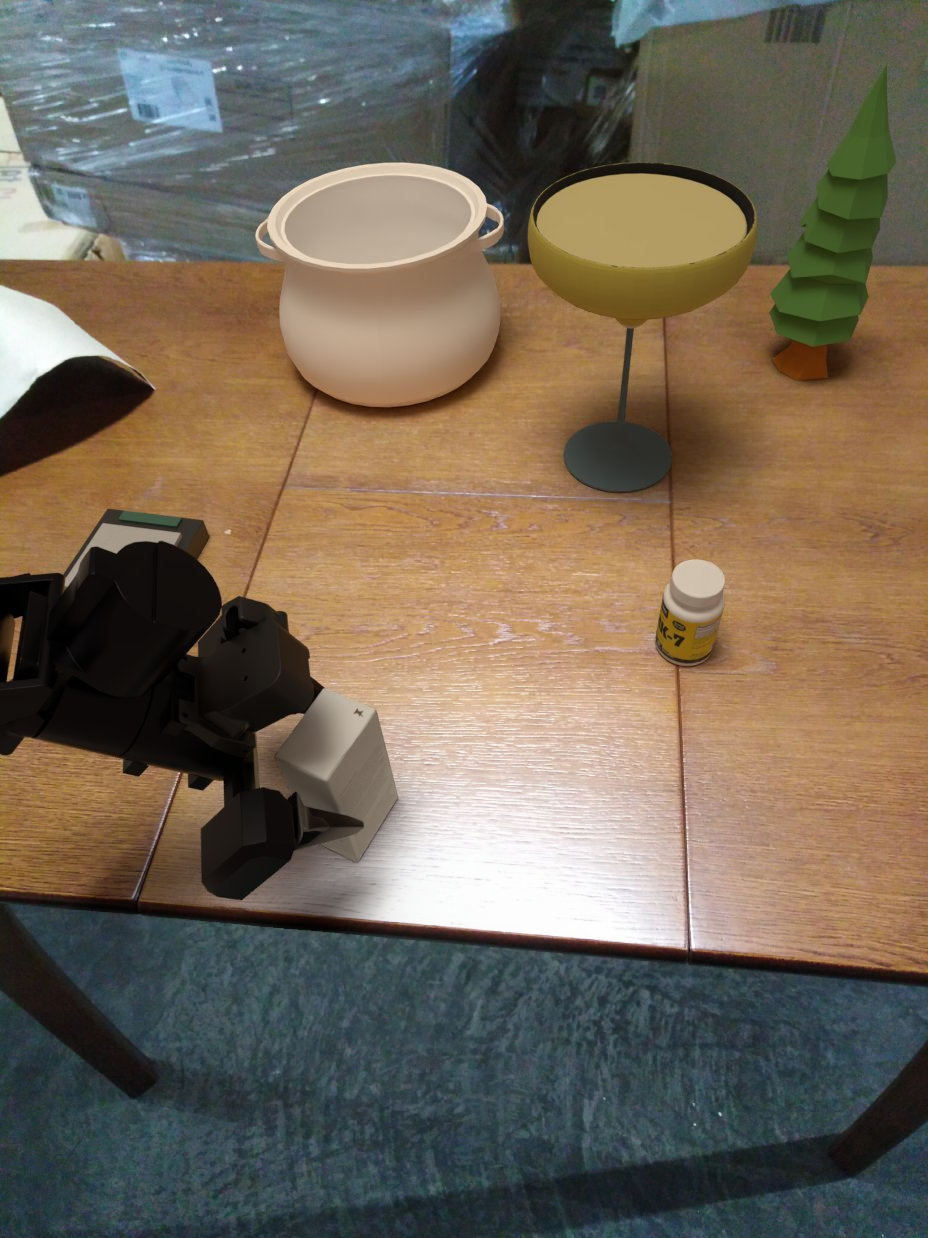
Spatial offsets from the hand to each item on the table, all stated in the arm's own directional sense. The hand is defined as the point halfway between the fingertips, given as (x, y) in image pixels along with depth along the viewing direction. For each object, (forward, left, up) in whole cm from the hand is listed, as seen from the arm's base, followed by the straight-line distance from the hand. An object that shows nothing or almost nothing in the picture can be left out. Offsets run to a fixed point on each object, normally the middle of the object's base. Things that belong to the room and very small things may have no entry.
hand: (351, 767), depth 60 cm
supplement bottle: (+22, +20, -7) cm, 31 cm away
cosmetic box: (-1, 0, -7) cm, 7 cm away
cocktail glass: (+14, +43, -7) cm, 46 cm away
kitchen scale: (-28, +20, -7) cm, 35 cm away
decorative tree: (+32, +62, -7) cm, 70 cm away
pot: (-13, +57, -7) cm, 59 cm away
